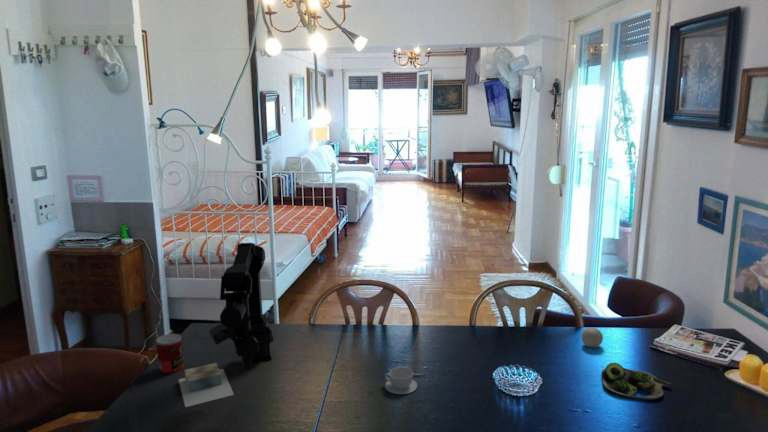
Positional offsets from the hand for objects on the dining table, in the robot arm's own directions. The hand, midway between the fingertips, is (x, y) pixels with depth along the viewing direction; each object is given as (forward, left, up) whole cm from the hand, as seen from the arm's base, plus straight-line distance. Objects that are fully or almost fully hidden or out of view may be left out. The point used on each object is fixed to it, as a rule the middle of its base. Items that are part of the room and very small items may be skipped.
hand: (243, 362), depth 161 cm
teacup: (-44, +15, -12) cm, 48 cm away
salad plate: (-105, +48, -13) cm, 116 cm away
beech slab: (+10, -12, -10) cm, 19 cm away
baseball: (-115, +24, -12) cm, 118 cm away
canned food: (+18, -31, -12) cm, 38 cm away
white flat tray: (+10, -13, -12) cm, 20 cm away
